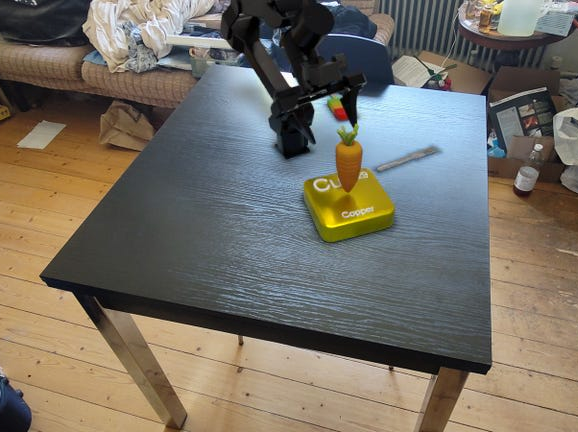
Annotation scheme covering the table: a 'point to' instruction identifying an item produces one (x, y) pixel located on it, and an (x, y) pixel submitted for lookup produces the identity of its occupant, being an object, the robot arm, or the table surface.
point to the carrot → (348, 158)
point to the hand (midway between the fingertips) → (335, 136)
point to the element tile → (348, 206)
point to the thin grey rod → (408, 158)
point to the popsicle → (337, 108)
